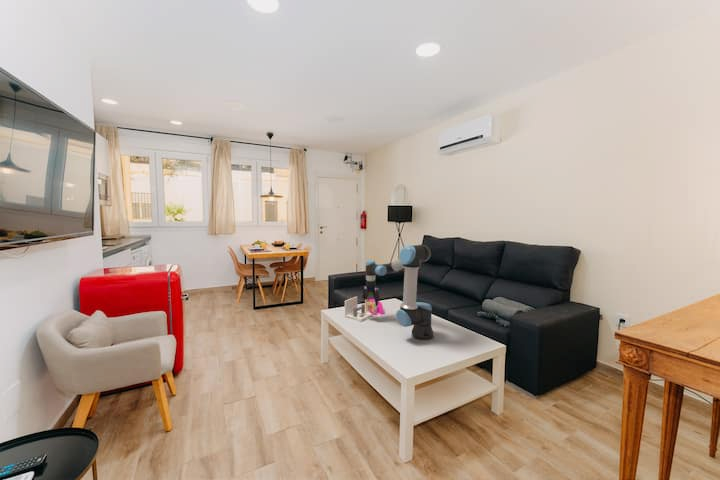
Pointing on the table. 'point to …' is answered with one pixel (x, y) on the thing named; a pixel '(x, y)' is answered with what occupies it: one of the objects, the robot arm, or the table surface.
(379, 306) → the magenta lumpy block
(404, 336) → the table surface
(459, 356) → the table surface
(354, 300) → the shelf
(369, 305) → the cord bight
